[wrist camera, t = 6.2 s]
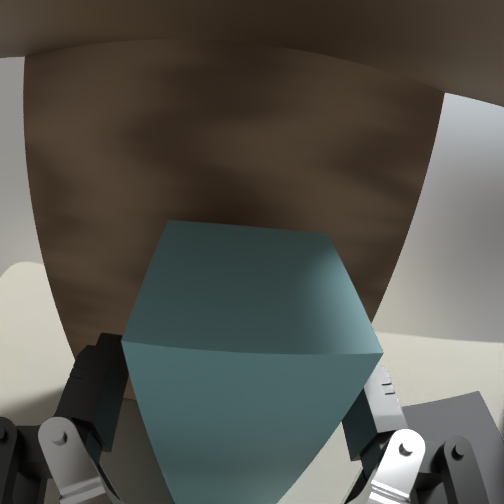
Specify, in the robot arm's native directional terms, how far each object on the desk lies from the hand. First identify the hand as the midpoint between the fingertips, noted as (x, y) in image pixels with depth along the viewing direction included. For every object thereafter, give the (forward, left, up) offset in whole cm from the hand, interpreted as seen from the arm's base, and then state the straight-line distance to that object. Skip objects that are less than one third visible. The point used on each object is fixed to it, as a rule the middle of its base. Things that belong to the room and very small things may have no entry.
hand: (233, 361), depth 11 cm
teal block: (0, +2, -7) cm, 7 cm away
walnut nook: (+1, +2, -7) cm, 7 cm away
